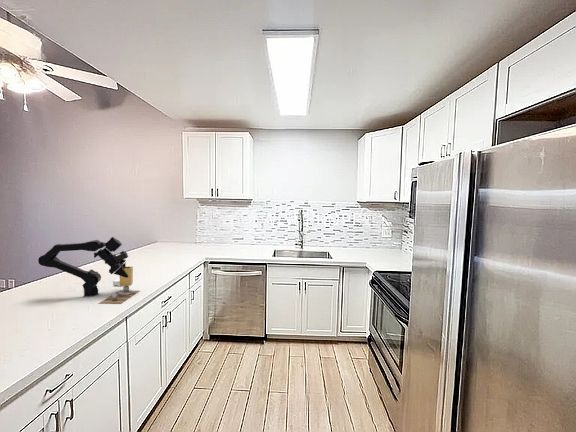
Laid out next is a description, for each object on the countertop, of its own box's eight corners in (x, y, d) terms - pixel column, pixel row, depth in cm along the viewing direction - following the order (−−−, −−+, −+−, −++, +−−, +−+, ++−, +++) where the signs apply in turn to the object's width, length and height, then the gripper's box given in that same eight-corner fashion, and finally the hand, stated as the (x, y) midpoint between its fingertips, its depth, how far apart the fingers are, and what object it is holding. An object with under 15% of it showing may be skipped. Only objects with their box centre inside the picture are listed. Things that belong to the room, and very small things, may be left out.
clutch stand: (121, 306, 184) (120, 295, 183) (97, 306, 183) (97, 295, 183) (140, 293, 210) (140, 283, 209) (120, 292, 209) (120, 282, 209)
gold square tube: (130, 285, 201) (131, 268, 201) (119, 286, 200) (119, 268, 199) (132, 283, 207) (132, 266, 206) (121, 283, 205) (121, 266, 205)
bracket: (122, 281, 236) (122, 270, 236) (132, 281, 237) (132, 270, 236) (112, 286, 223) (112, 275, 223) (124, 286, 224) (124, 275, 223)
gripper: (115, 250, 192) (137, 269, 196) (122, 245, 210) (141, 263, 214) (99, 264, 190) (121, 283, 194) (107, 258, 208) (127, 276, 212)
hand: (128, 275), depth 203 cm, fingers closed on gold square tube, 6 cm apart
